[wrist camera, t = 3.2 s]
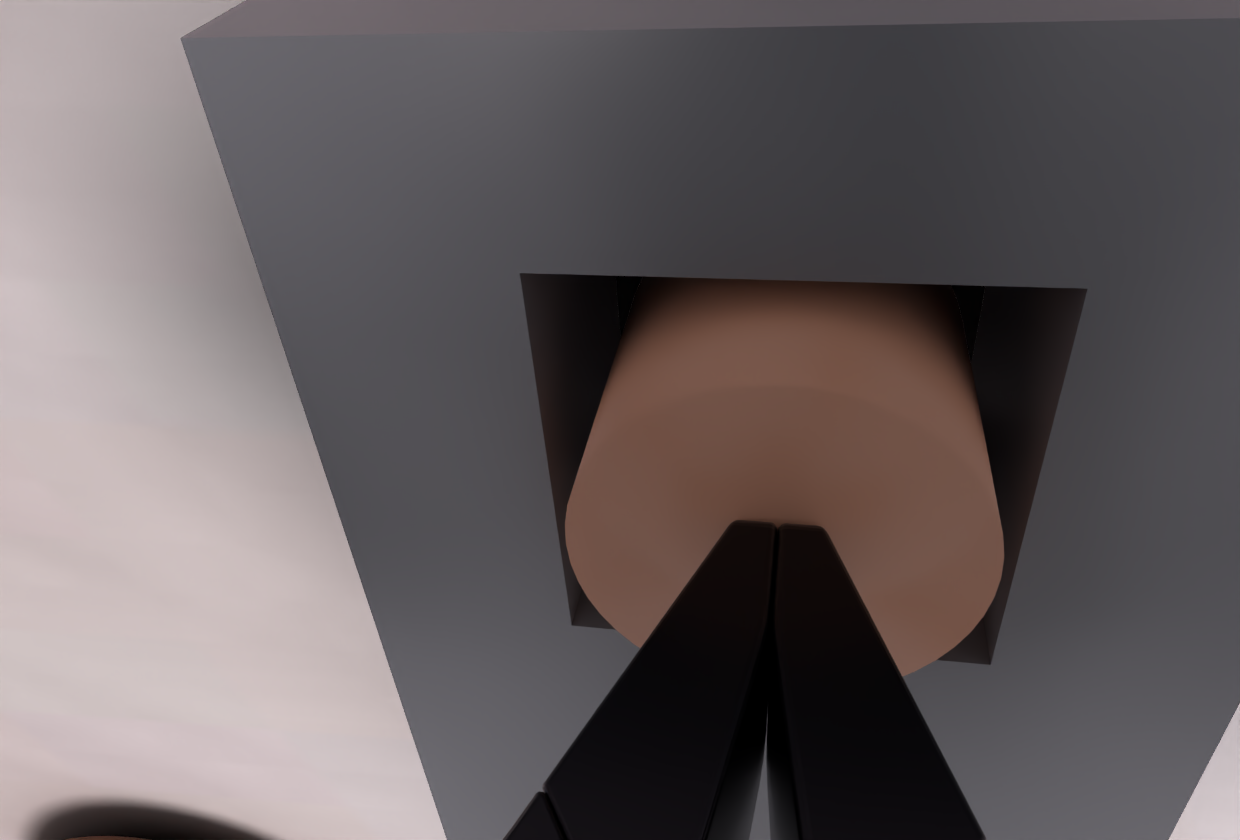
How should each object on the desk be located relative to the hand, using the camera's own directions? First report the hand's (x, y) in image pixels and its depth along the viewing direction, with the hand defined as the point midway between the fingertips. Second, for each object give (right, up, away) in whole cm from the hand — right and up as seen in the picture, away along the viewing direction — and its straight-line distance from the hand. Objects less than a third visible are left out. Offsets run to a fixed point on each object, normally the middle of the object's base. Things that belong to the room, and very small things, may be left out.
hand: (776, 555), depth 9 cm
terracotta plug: (+1, +2, +3) cm, 4 cm away
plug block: (+1, -2, +8) cm, 8 cm away
